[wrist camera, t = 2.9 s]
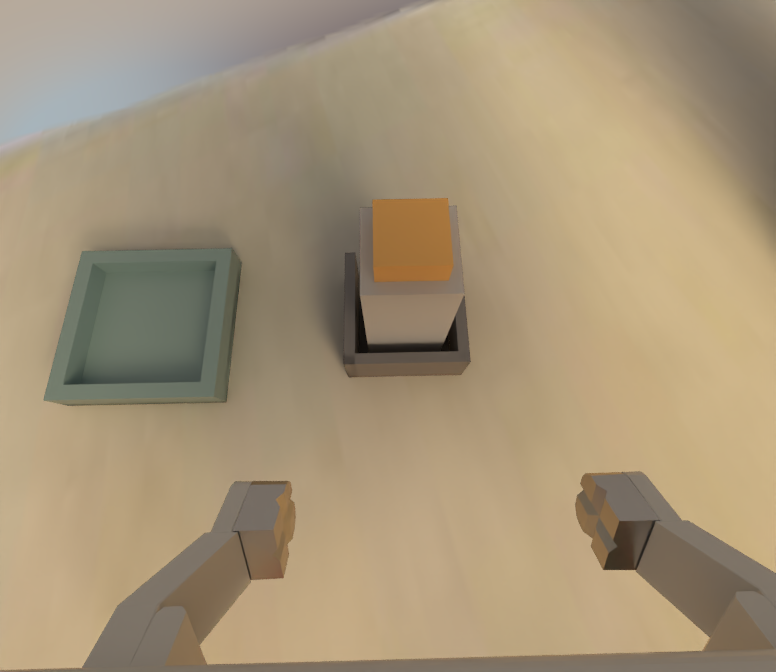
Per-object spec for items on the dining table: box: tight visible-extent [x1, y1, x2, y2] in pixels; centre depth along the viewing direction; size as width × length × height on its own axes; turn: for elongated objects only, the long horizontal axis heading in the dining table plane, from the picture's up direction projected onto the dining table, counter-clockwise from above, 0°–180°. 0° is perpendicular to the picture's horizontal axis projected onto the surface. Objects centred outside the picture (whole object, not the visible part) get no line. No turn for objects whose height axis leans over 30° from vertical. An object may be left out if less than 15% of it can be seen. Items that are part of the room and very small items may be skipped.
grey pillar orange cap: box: [360, 198, 465, 353], centre depth 24 cm, size 5×5×12 cm
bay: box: [344, 253, 471, 377], centre depth 28 cm, size 8×8×4 cm
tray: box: [44, 248, 242, 406], centre depth 29 cm, size 11×11×2 cm
